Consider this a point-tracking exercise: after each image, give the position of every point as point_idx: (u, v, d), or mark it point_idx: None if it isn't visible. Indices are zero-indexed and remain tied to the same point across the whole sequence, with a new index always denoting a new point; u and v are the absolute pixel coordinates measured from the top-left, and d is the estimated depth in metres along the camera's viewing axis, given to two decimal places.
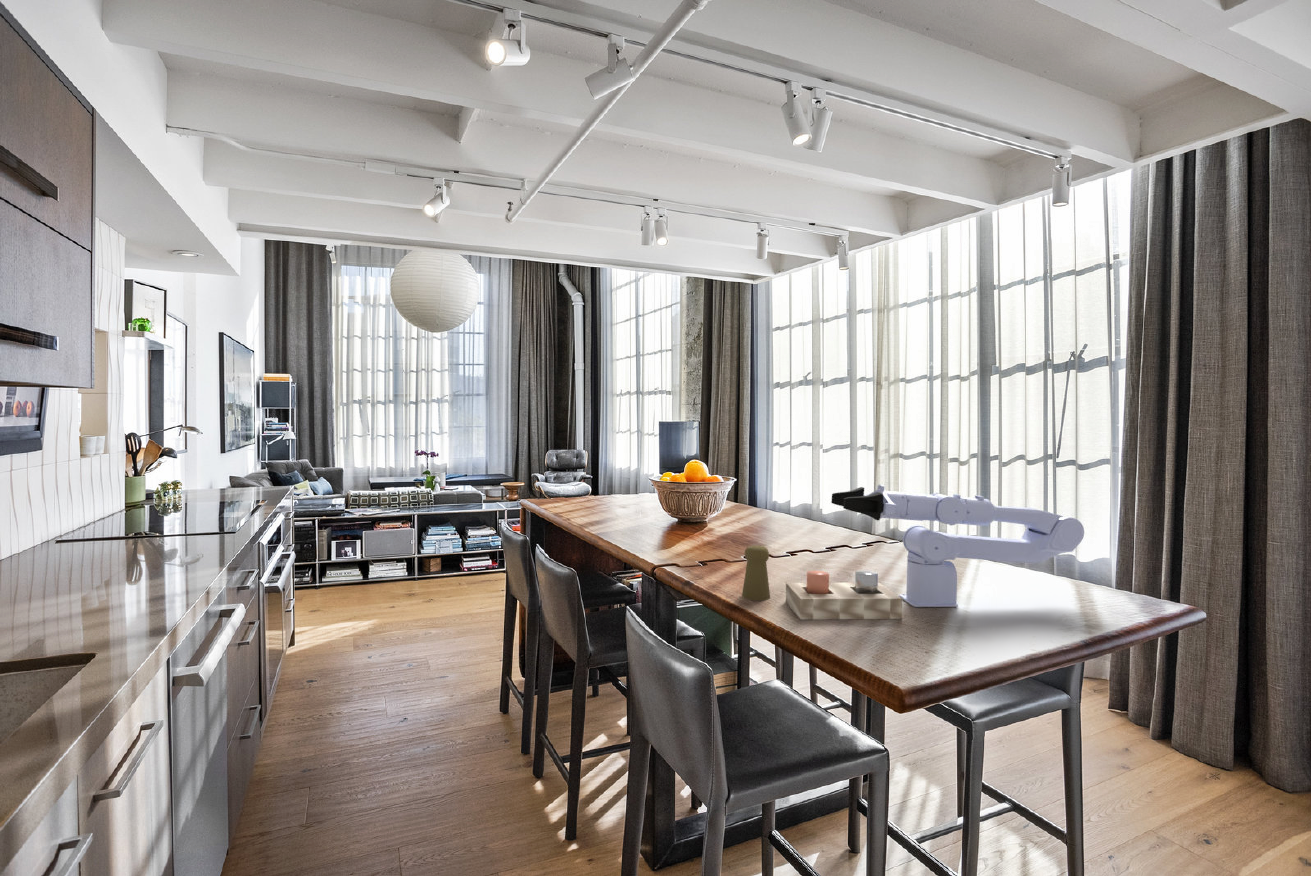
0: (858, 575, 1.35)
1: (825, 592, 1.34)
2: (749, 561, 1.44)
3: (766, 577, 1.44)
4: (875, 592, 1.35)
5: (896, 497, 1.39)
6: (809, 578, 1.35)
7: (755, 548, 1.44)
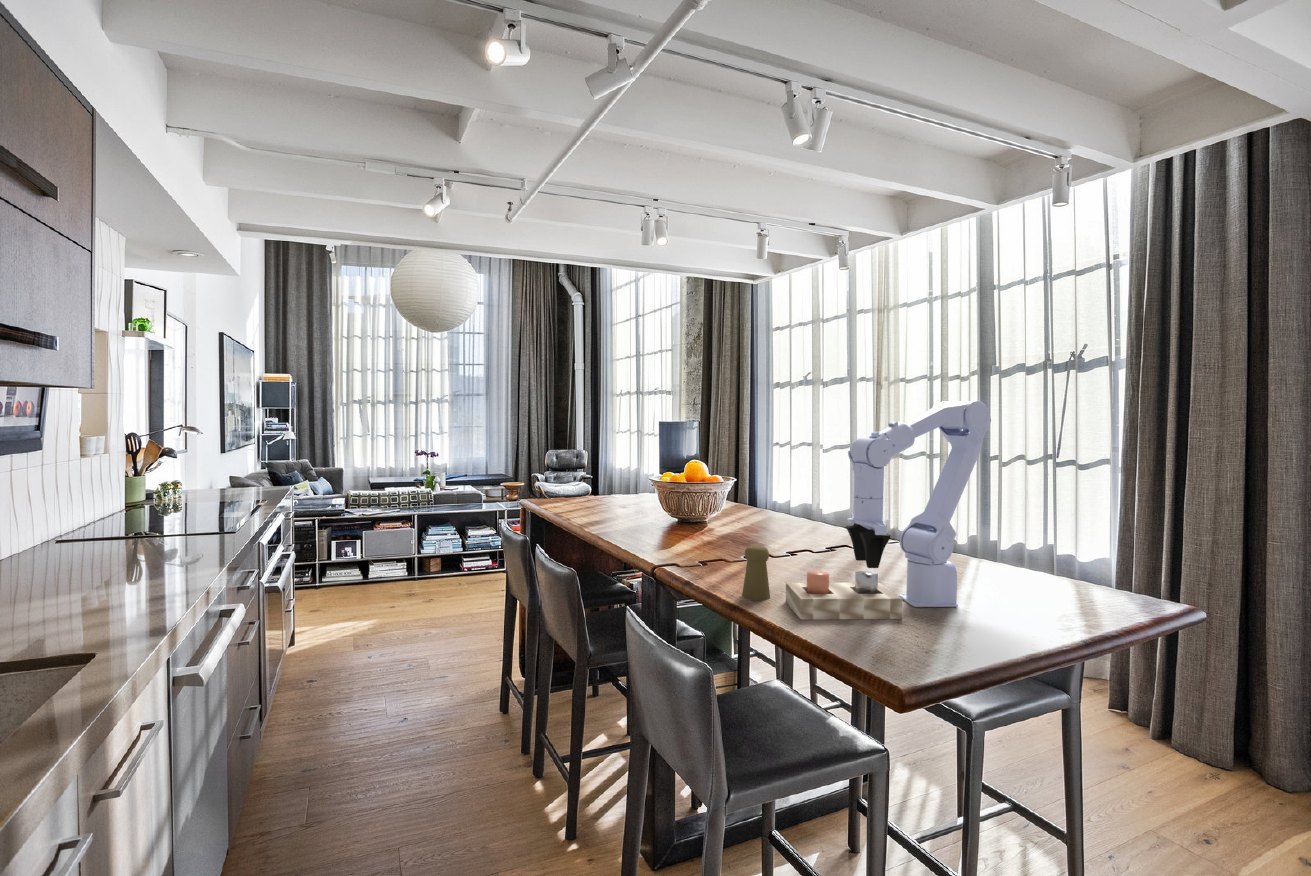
0: (858, 575, 1.35)
1: (825, 592, 1.34)
2: (749, 561, 1.44)
3: (766, 577, 1.44)
4: (875, 592, 1.35)
5: (863, 509, 1.34)
6: (809, 578, 1.35)
7: (755, 548, 1.44)
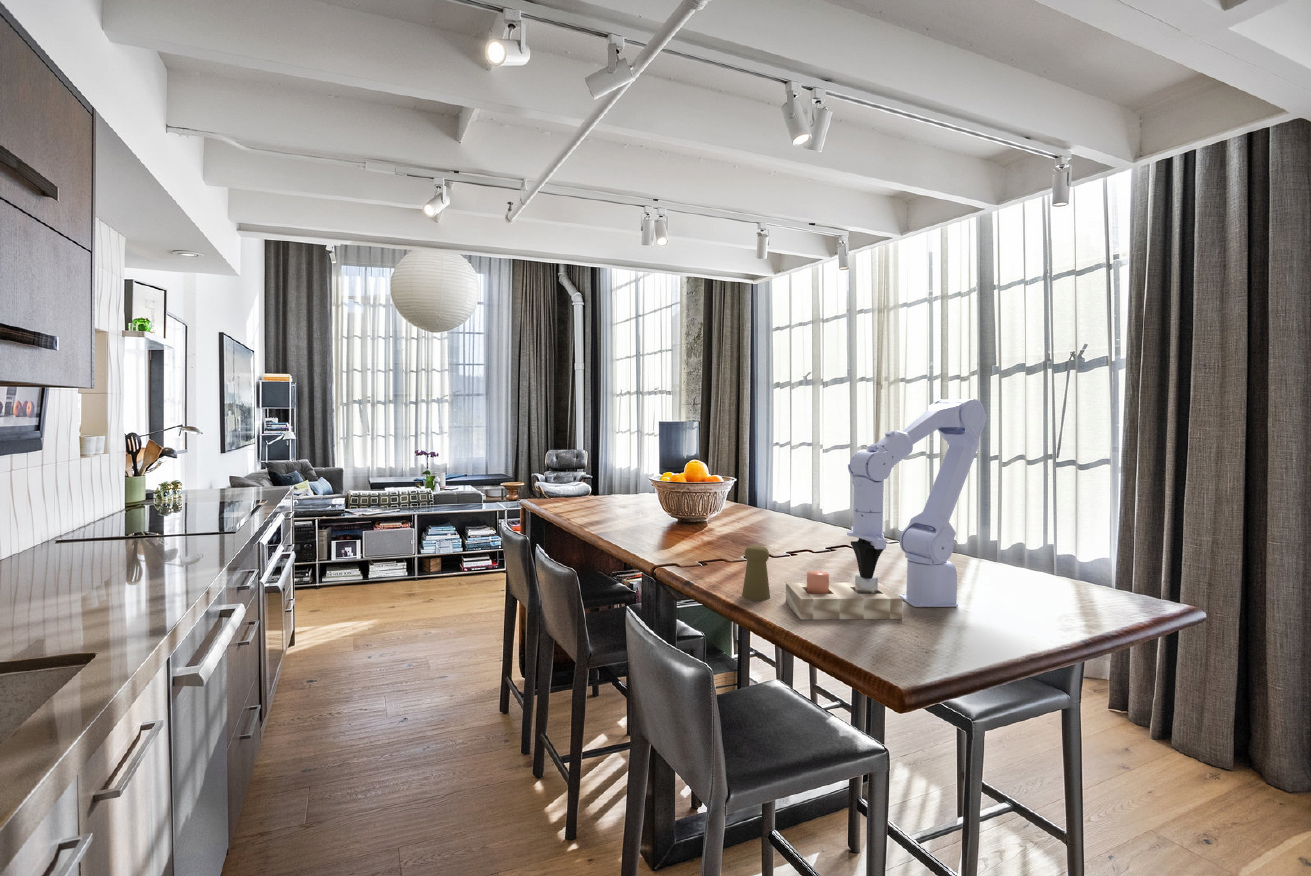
0: (858, 579, 1.35)
1: (825, 592, 1.34)
2: (749, 561, 1.44)
3: (766, 577, 1.44)
4: None
5: (862, 522, 1.34)
6: (809, 578, 1.35)
7: (755, 548, 1.44)
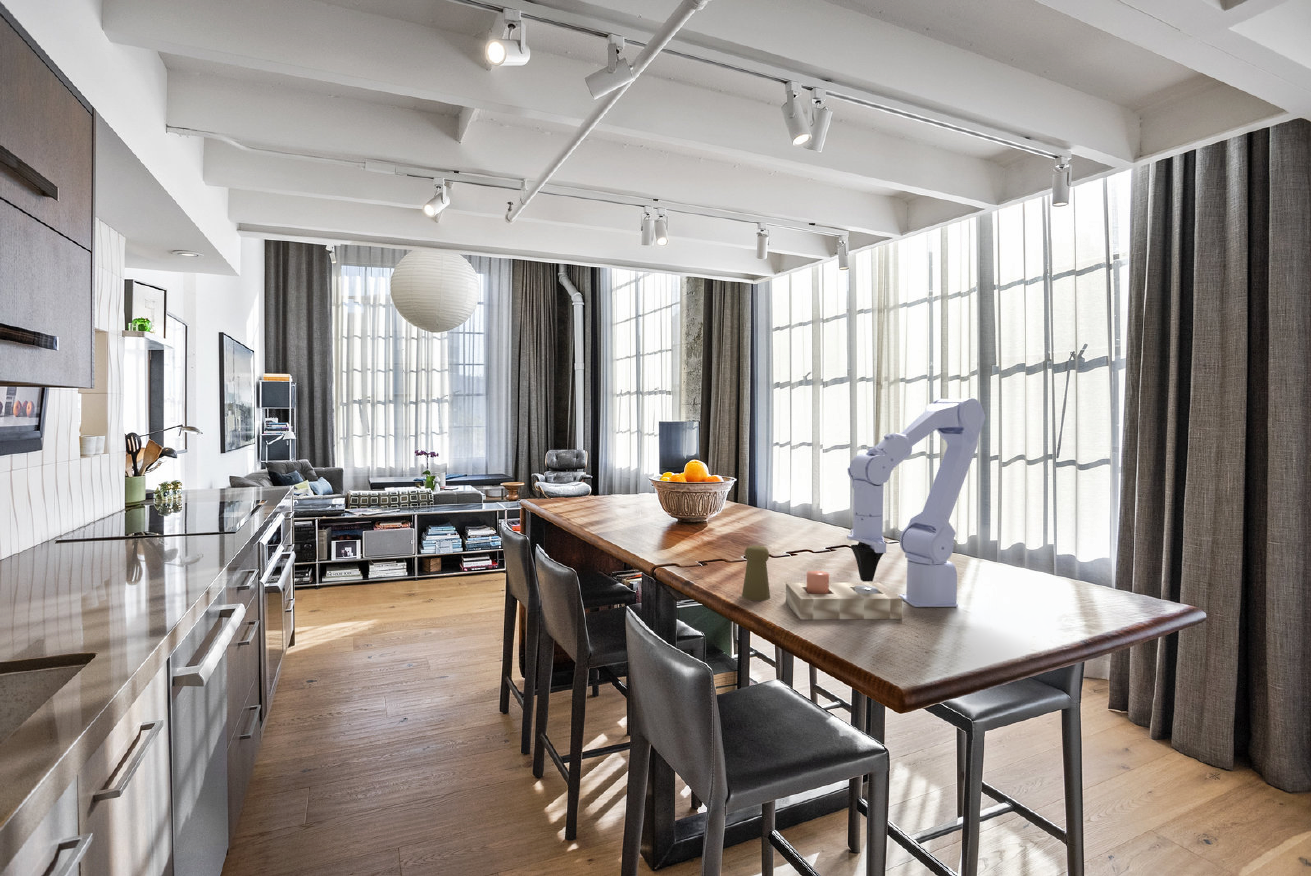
0: (858, 590, 1.36)
1: (825, 592, 1.34)
2: (749, 561, 1.44)
3: (766, 577, 1.44)
4: None
5: (862, 526, 1.34)
6: (809, 578, 1.35)
7: (755, 548, 1.44)
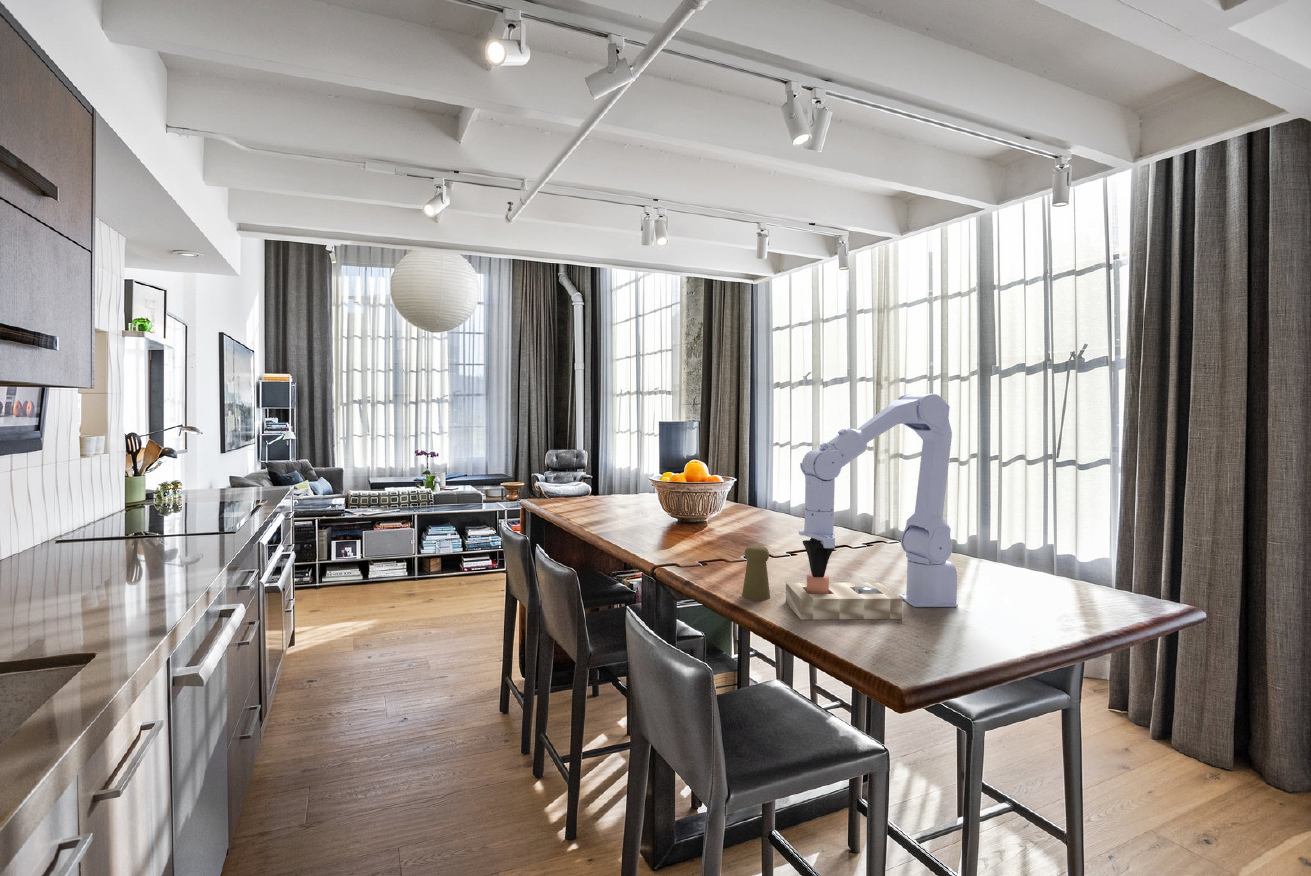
0: (858, 590, 1.36)
1: None
2: (749, 561, 1.44)
3: (766, 577, 1.44)
4: None
5: (813, 521, 1.33)
6: (809, 581, 1.35)
7: (755, 548, 1.44)
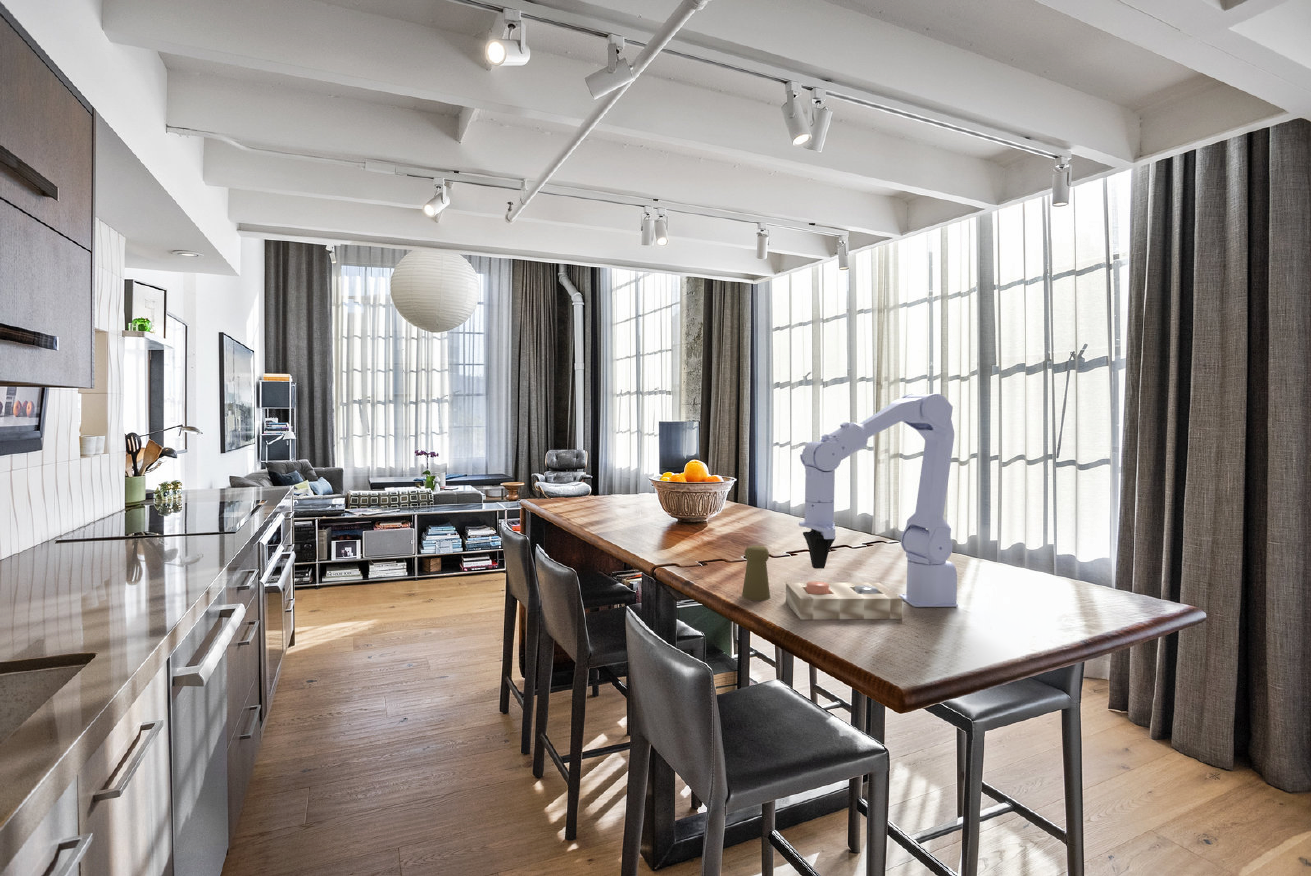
0: (858, 590, 1.36)
1: None
2: (749, 561, 1.44)
3: (766, 577, 1.44)
4: None
5: (813, 513, 1.33)
6: (808, 589, 1.35)
7: (755, 548, 1.44)
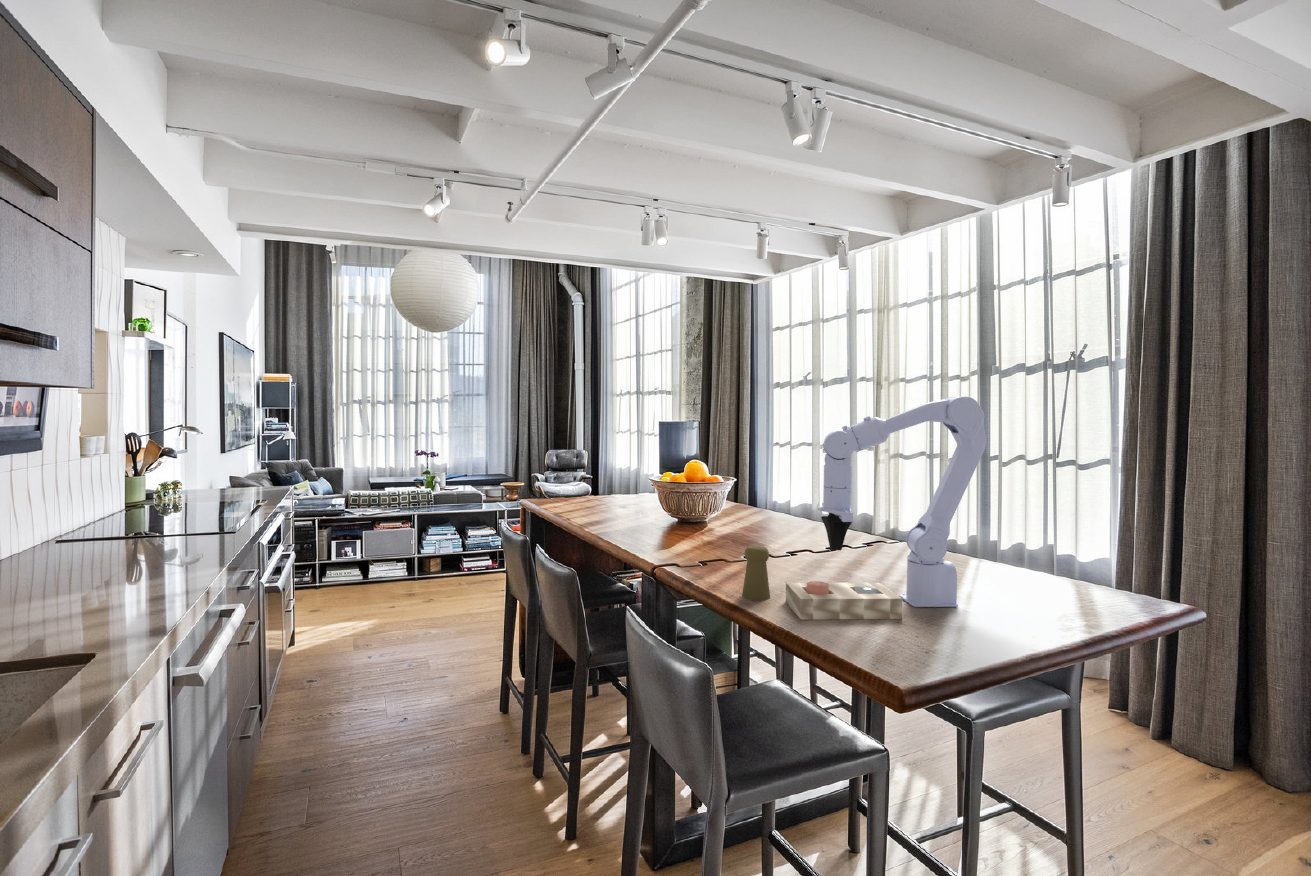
0: (858, 590, 1.36)
1: None
2: (749, 561, 1.44)
3: (766, 577, 1.44)
4: None
5: (831, 498, 1.42)
6: (808, 589, 1.35)
7: (755, 548, 1.44)
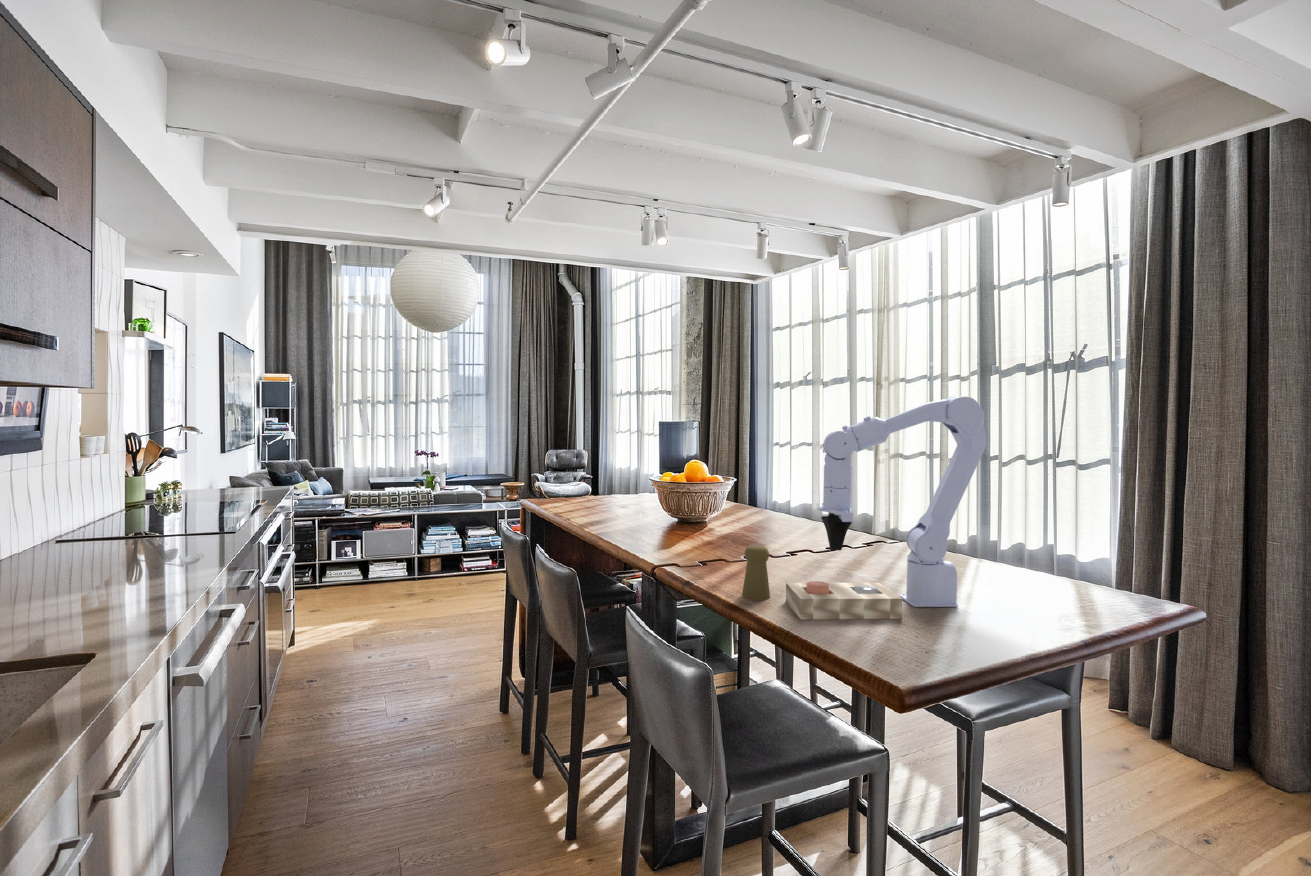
0: (858, 590, 1.36)
1: None
2: (749, 561, 1.44)
3: (766, 577, 1.44)
4: None
5: (831, 498, 1.42)
6: (808, 589, 1.35)
7: (755, 548, 1.44)
